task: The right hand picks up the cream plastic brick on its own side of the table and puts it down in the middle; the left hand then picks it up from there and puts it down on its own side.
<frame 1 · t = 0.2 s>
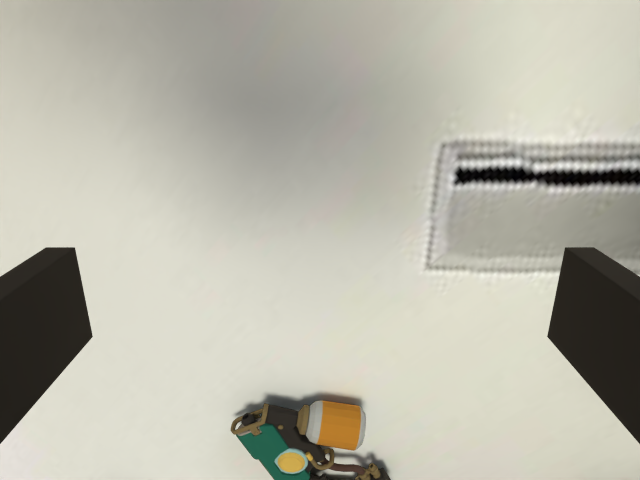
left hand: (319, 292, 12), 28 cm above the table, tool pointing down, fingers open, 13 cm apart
spray gun: (315, 448, 50), on the table
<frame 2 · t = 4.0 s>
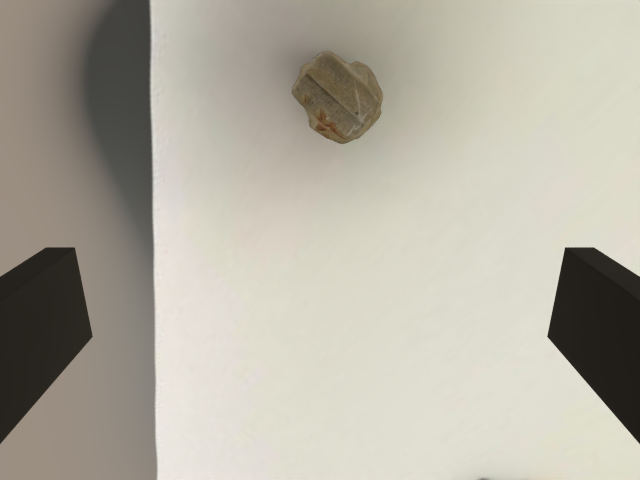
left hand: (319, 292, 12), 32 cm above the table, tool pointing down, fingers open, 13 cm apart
sculpture: (337, 95, 41), on the table
when the right hand's fingers open (2 cm above the table, at t = 12.1 s): brick drops 1 cm, on the table.
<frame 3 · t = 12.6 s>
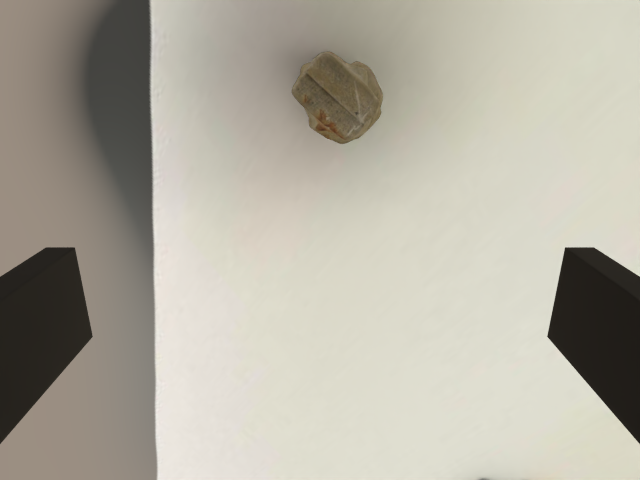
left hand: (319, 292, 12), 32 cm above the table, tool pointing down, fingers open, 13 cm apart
sculpture: (337, 95, 41), on the table
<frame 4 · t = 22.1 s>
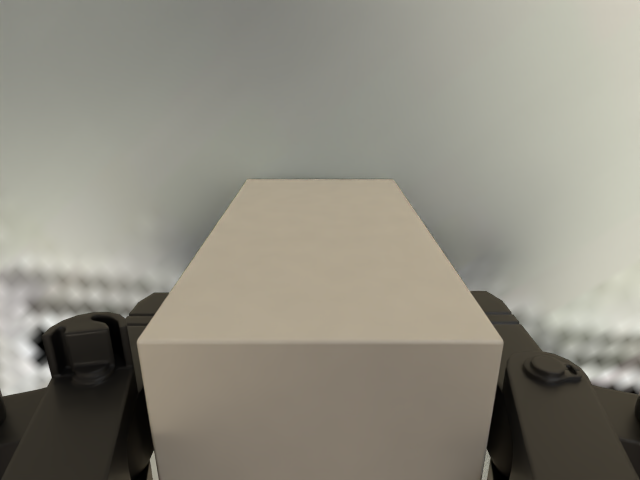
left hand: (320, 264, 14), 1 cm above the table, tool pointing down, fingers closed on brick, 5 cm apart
brick: (320, 255, 15), on the table, touching left hand
when the left hand's fingers open (2 cm above the table, at t = 32.6 s): brick drops 1 cm, on the table.
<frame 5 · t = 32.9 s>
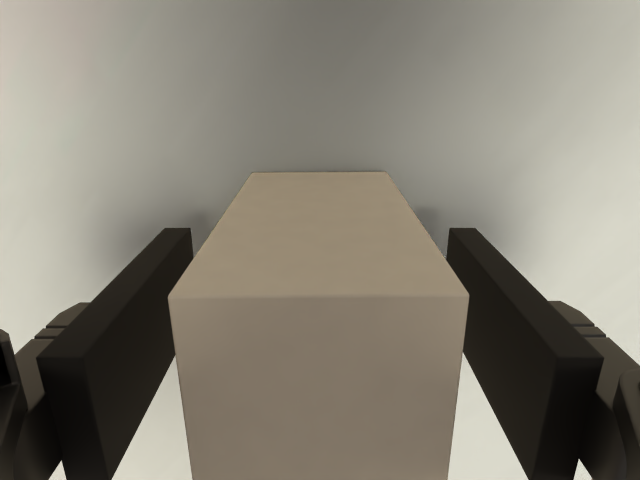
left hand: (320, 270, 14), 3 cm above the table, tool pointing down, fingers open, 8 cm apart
brick: (319, 243, 16), on the table
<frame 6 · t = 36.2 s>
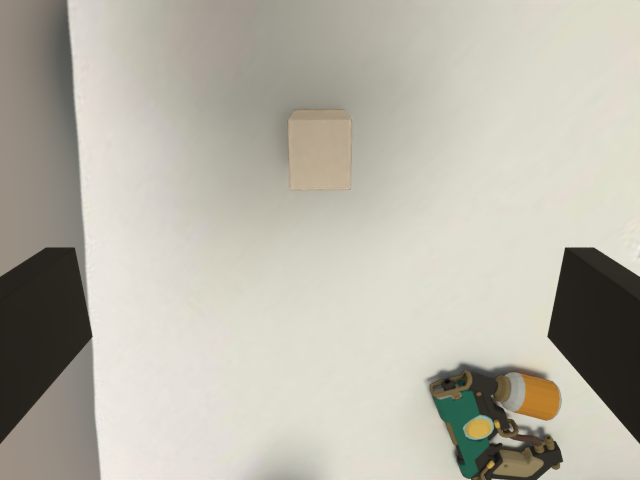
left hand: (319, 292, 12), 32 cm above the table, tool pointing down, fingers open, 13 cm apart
spray gun: (491, 418, 53), on the table
brick: (319, 138, 42), on the table
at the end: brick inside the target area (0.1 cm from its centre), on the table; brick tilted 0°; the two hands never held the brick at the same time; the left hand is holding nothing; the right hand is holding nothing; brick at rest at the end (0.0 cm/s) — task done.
